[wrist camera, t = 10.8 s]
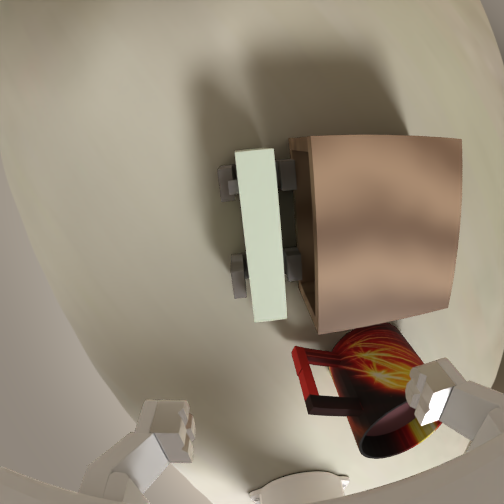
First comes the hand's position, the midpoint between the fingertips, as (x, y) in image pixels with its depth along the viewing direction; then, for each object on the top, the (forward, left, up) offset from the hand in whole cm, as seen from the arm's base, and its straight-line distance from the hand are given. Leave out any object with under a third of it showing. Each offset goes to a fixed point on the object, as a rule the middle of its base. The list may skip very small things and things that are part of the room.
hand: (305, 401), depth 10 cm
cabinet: (+2, -6, -19) cm, 20 cm away
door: (+2, 0, -19) cm, 19 cm away
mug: (-16, -9, -20) cm, 27 cm away
